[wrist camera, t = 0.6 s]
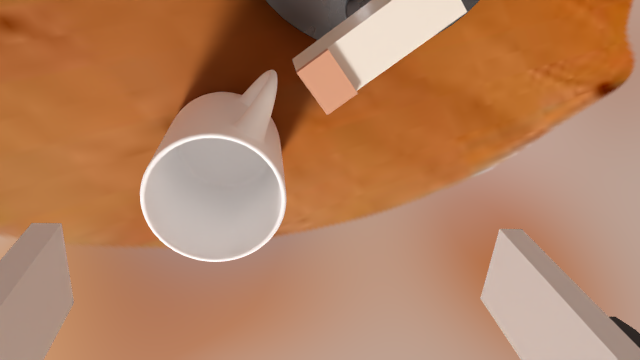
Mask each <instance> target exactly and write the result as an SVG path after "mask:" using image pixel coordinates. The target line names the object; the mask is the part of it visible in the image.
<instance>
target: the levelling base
mask: <svg viewBox="0 0 640 360" xmlns="http://www.w3.org/2000/svg"><path fill="white" fill-rule="evenodd" d="M266 1H267V3H268V4H269V5H270V6H271V7H272V8H273V9H274V10H275V11H276V12H277V13H278V14H279V15H280V16H281V17H282V18H284V19H285V20H286V21H288V22H289V23H290V24H292V25H293V26H294V27H296V28H297V29H298V30H300V31H302V32H303V33H305V34H307V35H309V36H311V37H312V38H314V39H316V40H319V39H320V38H321V37H323V36H324V35H325V34H327V33H328V32H329V31H331V30H332V29H333V28H335V27H336V26H337V25H339V24H340V23H342V22H343V21H344V20H346V19H347V18H348V17H350V16H351V15H352V14H354V13H355V12H356V11H358V10H359V9H360V6H361V4H362V2H363V1H364V0H266ZM461 1H462V3H463V5H464V7H465V9H466V11H467V12H468V11H469V10H470V9H471V8H472V7H473V6H474V5H475V4H476V3H477V2H478V1H479V0H461ZM467 12H466V13H467ZM466 13H465V14H466ZM465 14H464V15H465ZM464 15H462V16H464ZM462 16H461V17H462ZM461 17H459V18H458V19H457V20H455V21H454V22H452V23H451V24H450V25H448V26H447V27H445V28H444V29H443V30H445V29H446V28H448V27H449V26H451V25H453V24H454V23H455V22H456V21H458V20H459V19H460V18H461ZM443 30H441V31H443ZM441 31H440V32H441ZM440 32H438V33H440ZM438 33H437V34H438ZM437 34H436V35H437Z"/></svg>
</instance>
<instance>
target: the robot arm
mask: <svg viewBox="0 0 640 360" xmlns="http://www.w3.org/2000/svg"><path fill="white" fill-rule="evenodd" d="M481 300H482V301H483V303H484V305H485V306H486V307H487V309H488V311H489V312H490V314H491V315H492V317H493V318H494V320H495V321H496V323H497V324H498V326H499V327H500V329H501V330H502V332H503V333H504V335H505V336H506V338H507V339H508V341H509V342H510V344H511V345H512V347H513V348H514V350H515V351H516V353H517V354H518V356H519V357H520V359H521V360H640V334H639V333H638V332H637V331H636V330H635V329H633V328H632V327H630V326H629V325H627V324H626V323H624V322H623V321H621V320H619V319H618V318H616V317H608V316H607V315H606V314H605V313H604V312H603V311H602V310H601V309H600V308H599V307H598V306H597V305H596V304H595V303H594V302H593V301H592V300H591V299H590V298H589V297H588V296H587V295H586V294H585V293H584V292H583V291H582V290H581V289H580V288H579V287H578V285H577V284H575V282H574V281H573V280H572V279H570V277H569V276H568V275H567V274H566V273H565V272H564V271H563V270H562V269H561V268H560V267H559V266H558V265H557V264H556V263H555V262H554V261H553V260H552V259H551V258H550V257H549V256H548V255H547V254H546V253H545V252H544V251H543V250H542V249H541V248H540V247H539V246H538V245H537V244H536V243H535V242H534V241H533V240H532V239H531V238H530V237H529V236H528V235H527V234H526V233H525V232H524V231H523V230H522V229H499V233H498V237H497V240H496V244H495V248H494V252H493V255H492V258H491V262H490V266H489V269H488V273H487V277H486V281H485V284H484V288H483V291H482V295H481ZM73 303H74V301H73V295H72V288H71V281H70V275H69V268H68V262H67V256H66V250H65V243H64V237H63V230H62V224H61V223H32V224H31V225H30V226H29V227H28V228H27V229H26V231H25V232H24V233H23V234H22V235H21V237H20V238H19V239H18V240H17V241H16V243H15V244H14V245H13V246H12V247H11V249H9V251H8V252H7V253H6V254H5V256H4V257H3V258H2V259H1V260H0V360H44V358H45V356H46V354H47V352H48V350H49V348H50V347H51V345H52V343H53V341H54V339H55V337H56V335H57V333H58V332H59V330H60V328H61V326H62V324H63V322H64V320H65V318H66V317H67V315H68V313H69V311H70V309H71V307H72V305H73Z"/></svg>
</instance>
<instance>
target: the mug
mask: <svg viewBox="0 0 640 360" xmlns="http://www.w3.org/2000/svg"><path fill="white" fill-rule="evenodd" d="M277 83H278V79H277V73H276V71H274V70H268V71H266V72H265V73H263V74H262V75H261V76H260V77H259V78H258V79H257V80H256V81H255V82H254V83H253V84H252V85H251V86H250V87H249V88H248V89H247V90H246V91H245V93H244V94H243V95H240V94H236V93H232V92H214V93H209V94H206V95H203V96H200V97H198V98H196V99H194V100H192V101H191V102H189V103H188V104H187V105H186V106H185V107H184V108H183V109H182V110H181V111H180V112H179V113H178V114H177V116H176V117H175V119H174V121H173V122H172V124H171V126H170V127H169V129H168V131H167V133H166V135H165V136H164V138H163V140H162V142H161V143H160V145H159V147H158V149H157V151H156V152H155V154H154V156H153V158H152V160H151V161H150V163H149V165H148V167H147V168H146V171H145V173H144V175H143V179H142V182H141V188H140V203H141V208H142V212H143V214H144V217H145V220H146V221H147V223H148V225H149V227H150V228H151V230H152V231H153V233H154V234H155V235H156V236H157V237H158V238H159V239H160V240H161V241H162V242H163V243H164V244H165V245H167V246H168V247H169V248H171V249H172V250H174V251H176V252H178V253H180V254H182V255H184V256H187V257H190V258H193V259H197V260H202V261H211V262H220V261H229V260H234V259H238V258H241V257H244V256H246V255H248V254H251V253H252V252H254V251H256V250H258V249H259V248H260V247H262V246H263V245H264V244H266V242H268V241H269V240H270V239H271V238H272V236H273V235H274V234H275V233H276V231H277V230H278V228H279V226H280V224H281V222H282V220H283V217H284V213H285V209H286V188H285V179H284V170H283V161H282V153H281V144H280V138H279V134H278V131H277V128H276V125H275V123H274V121H273V120H272V118H271V114H272V110H273V106H274V102H275V97H276V92H277Z"/></svg>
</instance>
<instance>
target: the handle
mask: <svg viewBox="0 0 640 360" xmlns="http://www.w3.org/2000/svg"><path fill="white" fill-rule="evenodd" d="M466 12H467V11H466V9H465V7H464V5H463V3H462V1H461V0H364V1H363V2H362V4H361V6H360V9H359V10H358V11H356V12H355V13H354V14H352V15H351V16H350V17H348V18H347V19H346V20H344V21H343V22H342V23H340V24H339V25H337V26H336V27H335V28H333V29H332V30H331V31H329V32H328V33H327V34H325V35H324V36H323V37H321V38H320V39H319V40H317V41H316V42H315V43H313V44H312V45H311V46H309V47H308V48H307V49H305V50H304V51H302V52H301V53H300V54H298V55H297V56H296V57H294V58H293V59H292V61H293V64H294V67H295V70H296V73H297V74H298V76H299V77H300V78H301V80H302V81H303V82H304V84H305V85H306V87H307V88H308V89H309V91H310V92H311V93H312V95H313V96H314V98H315V99H316V100H317V102H318V103H319V104H320V106H321V107H322V109H323V110H324V111H325V113H326V114H327V115H328V114H329V113H331V112H332V111H334V110H335V109H336V108H338V107H339V106H341V105H342V104H344V103H345V102H346V101H348V100H349V99H351V98H352V97H353V96H355V95H356V94H358V93H357V90H358V89H360V88H361V87H363V86H364V85H365V84H367V83H368V82H370V81H371V80H372V79H374V78H375V77H377V76H378V75H379V74H381V73H382V72H384V71H385V70H386V69H388V68H389V67H391V66H392V65H393V64H395V63H396V62H398V61H399V60H400V59H402V58H403V57H405V56H406V55H407V54H409V53H410V52H412V51H413V50H414V49H416V48H417V47H419V46H420V45H422V44H423V43H424V42H426V41H427V40H429V39H430V38H431V37H433V36H434V35H436V34H437V33H438V32H440V31H441V30H443V29H444V28H445V27H447V26H448V25H450V24H451V23H452V22H454V21H455V20H457V19H458V18H459V17H461V16H462V15H464V14H465V13H466Z"/></svg>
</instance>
